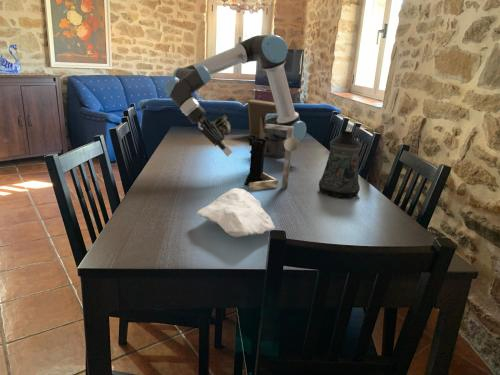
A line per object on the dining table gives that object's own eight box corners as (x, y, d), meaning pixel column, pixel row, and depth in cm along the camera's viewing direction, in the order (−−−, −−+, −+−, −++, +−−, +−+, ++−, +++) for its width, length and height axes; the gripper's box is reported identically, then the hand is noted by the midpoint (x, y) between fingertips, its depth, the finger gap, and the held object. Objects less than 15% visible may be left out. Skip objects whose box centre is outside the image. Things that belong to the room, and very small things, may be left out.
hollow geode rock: (220, 144, 245) (237, 129, 241) (206, 130, 241) (223, 115, 238) (222, 135, 271) (237, 121, 268) (210, 122, 267) (225, 108, 264)
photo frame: (253, 134, 261) (255, 98, 253) (280, 139, 251) (283, 102, 242) (241, 137, 249) (243, 100, 241) (269, 143, 239) (272, 104, 230)
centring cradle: (277, 177, 167) (282, 120, 159) (292, 189, 152) (299, 128, 144) (237, 178, 161) (241, 119, 153) (250, 191, 146) (254, 127, 138)
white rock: (189, 245, 98) (195, 214, 95) (200, 198, 131) (205, 174, 128) (275, 261, 100) (283, 231, 97) (264, 210, 133) (270, 187, 130)
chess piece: (266, 182, 159) (270, 136, 152) (262, 187, 151) (267, 139, 145) (248, 179, 160) (251, 134, 154) (244, 185, 153) (247, 137, 146)
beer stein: (335, 201, 142) (345, 137, 134) (306, 185, 158) (313, 127, 150) (367, 197, 150) (378, 136, 141) (336, 182, 166) (344, 127, 158)
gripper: (193, 114, 161) (228, 156, 163) (181, 118, 149) (218, 163, 151) (205, 103, 158) (240, 145, 160) (193, 106, 146) (231, 152, 148)
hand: (230, 154), depth 156 cm, fingers closed
